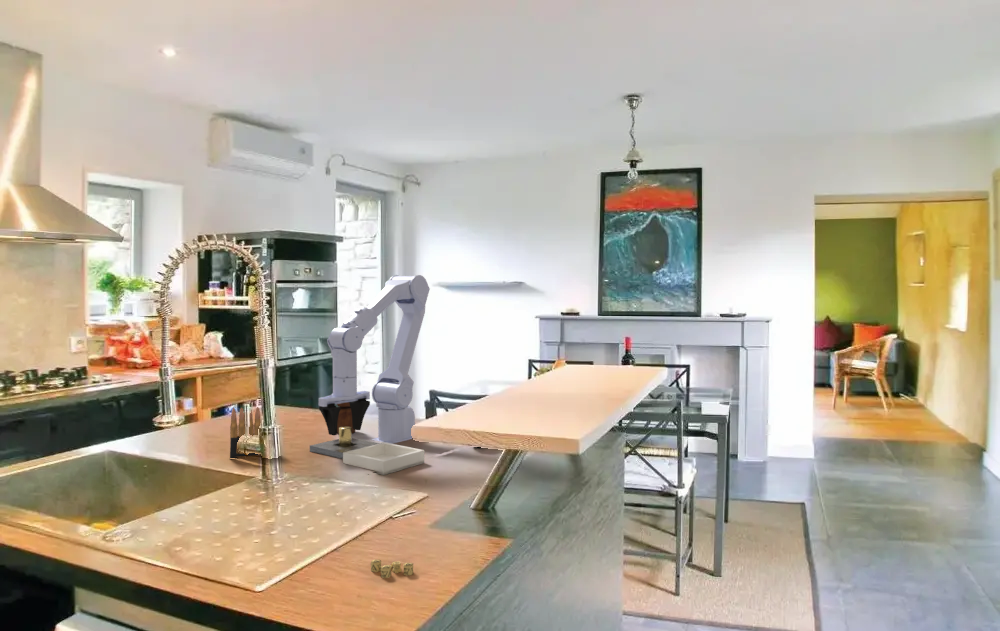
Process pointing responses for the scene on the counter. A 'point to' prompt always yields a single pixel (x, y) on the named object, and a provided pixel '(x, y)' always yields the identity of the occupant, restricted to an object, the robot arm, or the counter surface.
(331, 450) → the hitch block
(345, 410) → the wooden figurine
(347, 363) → the robot arm
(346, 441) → the gold upright block
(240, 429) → the ammunition clip
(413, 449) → the tray
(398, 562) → the dice set
